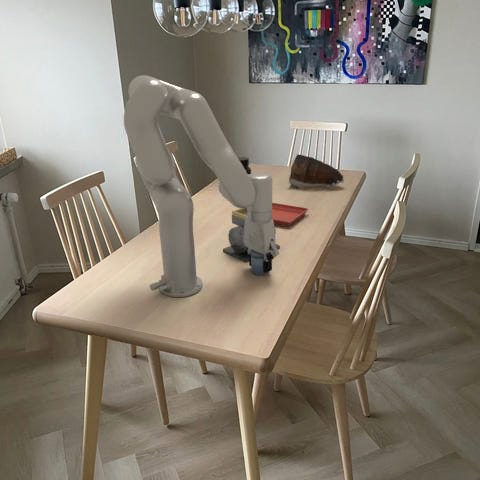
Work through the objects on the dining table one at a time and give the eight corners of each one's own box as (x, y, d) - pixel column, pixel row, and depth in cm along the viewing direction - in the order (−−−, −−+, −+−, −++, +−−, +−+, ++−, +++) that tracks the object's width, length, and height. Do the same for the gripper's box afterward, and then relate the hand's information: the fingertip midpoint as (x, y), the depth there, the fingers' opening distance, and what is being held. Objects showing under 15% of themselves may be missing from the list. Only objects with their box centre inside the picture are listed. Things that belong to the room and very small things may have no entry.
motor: (245, 262, 156) (244, 221, 150) (222, 251, 164) (221, 212, 158) (280, 248, 165) (280, 209, 160) (256, 238, 174) (256, 201, 168)
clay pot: (346, 168, 215) (293, 155, 221) (337, 200, 220) (286, 186, 226) (349, 164, 228) (300, 152, 235) (341, 194, 234) (293, 181, 240)
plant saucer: (270, 208, 204) (269, 201, 203) (308, 215, 195) (309, 207, 194) (249, 222, 190) (249, 214, 189) (290, 230, 181) (290, 222, 180)
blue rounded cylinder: (260, 277, 146) (259, 257, 143) (246, 271, 150) (246, 251, 147) (274, 271, 149) (274, 251, 146) (260, 265, 154) (260, 245, 151)
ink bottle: (229, 182, 241) (228, 159, 236) (240, 178, 248) (239, 155, 243) (245, 185, 236) (244, 161, 231) (255, 181, 242) (255, 157, 237)
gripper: (231, 210, 146) (233, 263, 153) (271, 225, 134) (271, 281, 141) (249, 204, 150) (250, 256, 157) (289, 218, 138) (288, 273, 145)
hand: (260, 267), depth 149 cm, fingers closed on blue rounded cylinder, 5 cm apart
